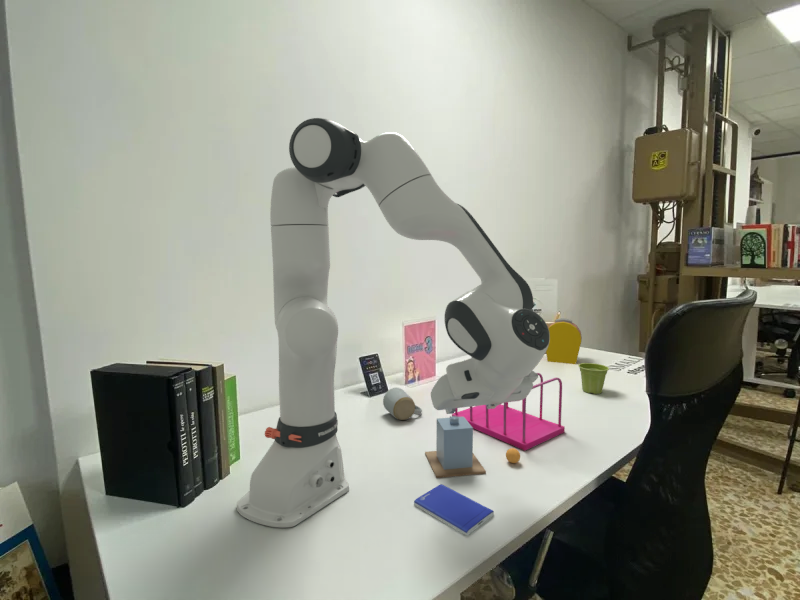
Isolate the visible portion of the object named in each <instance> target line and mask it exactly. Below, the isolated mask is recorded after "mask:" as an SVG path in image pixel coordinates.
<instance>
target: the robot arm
mask: <svg viewBox="0 0 800 600" xmlns="http://www.w3.org/2000/svg"><path fill="white" fill-rule="evenodd" d="M288 151H289V152H288V153H289V156H290V160H291V163H292V164H293V166H294V167H288V168H286V169H283V170H281V171H279V172H278V173H277V174H276V175H275V177H274V179H273V182H272V186H271V189H272V190H271V198H270V208H269V209H270V210H269V211H270V218H269V219H270V234H271V235H270V237H271V239H270V240H271V253H272V254H271V256H272V275H273V276H272V278H273V279H272V280H273V284H272V285H273V286H272V287H273V308H274V309H273V310H274V313H273V314H274V325H275V329H276V332H277V337H278V397H279V398H278V399H279V417H278V420H277V422H276V423H277V424H276V427H275V428H273V427H270V426H268V427H266V428H265V431H264V434H263V435H264V437H265V438H266V439H273V440H274V441H273V442H272V444H271V445H270V447H269V448H268V450H267V451H266V453H265V454H264V455H263V457H262V458H261V460H260V461H259V463H258V464H257V466H256V467H255V469H254V470H253V471H252V473H251V476H250V481H249V490H248V491H247V493H245V494H244V495H242V497H241V498H240V499H239V500H238V501H237V502H236V510H237V512H238V514H240V516H241V517H243V518H245V519H247V520H249V521H251V522H254V523H255V524H260V525H262V526H266V527H270V528H271V527H272V528H292V527H295V526H296V525H299V524H300V523H302V522H303V521H304V520H306V519H308V518H309V517H311V516H313V515H314V514H315V513H317V512H318V511H320V510H321V509H323V508H325V507H326V506H327V505H329V504H331V503H332V502H333V501H335V500H337V499H338V498H340V497H341V496H343V495H344V494H346V493H348V492H349V491H350V485H349V483H348V481H347V480H346V477H345V470H344V461H343V453H342V449H341V448H342V447H341V446H340V443H339V440H338V438H337V437H338V436H337V432H338V424H339V420H338V413H337V412H336V411H335V410H336V408H335V404H336V403H335V370H336V362H337V350H338V349H337V348H338V338H339V337H338V336H339V324H338V319H337V317H336V314H335V313H334V312H333V310H332V309H331V308H330V307H329V306H328V289H329V275H330V269H331V260H330V259H331V257H330V255H331V253H330V234H329V233H330V232H329V230H330V228H329V212H328V211H329V202H330V199H332V197H335V198H340V197H343V196H345V195H347V194H350V193H354V192H356V191H358V190H361V189H363V188H367V189H368V191H369V192H370V193H371V195H372V197H373V198H374V200H375V202H376V204H377V205H378V208H379V209H380V211H381V213H382V215H383V217H384V218H385V220H386V222H387V223H388V225H389V226H390V227H391V229H393V230H394V231H395V232H396V234H398V235H401V237H404V238H407V239H411V240H415V241H416V240H417V241H439V242H445V243H448V244H450V245H452V246H453V247H455V248H456V249H457V250H459V252H460V253H461V254H462V256H463V257H464V258H465V259H466V261H467V263H468V264H469V265H470V266H471V268H472V269H473V270H474V271H475V274H477V276H478V277H479V279H480V283H481V284H479V285H477V286H476V287H474V288H473V289H471V290H468V291H466V292H465V293H463V294H461V295H459V296H458V297H456V298H455V299H454V300H452V301H450V302H449V303H448V304H447V305H446V307H445V311H444V324H445V331H446V333H447V336H448V337H449V339H450V340H451V342H452V343H454V345H455V346H456V347H457V348H458V349H460V350H461V351H462V352H463V353H465V354H467V355H468V356H469V357H470V358H467V359H464V360H461V361H457V362H453V363H452V362H451V363H450V364H448V365H447V366H446V368H445V372H446V373H444V374H443V375H442V376H440V378H438V379H437V381H436V382H435V384H434V385H433V387H432V389H431V391H430V398H431V402H432V403H431V404H432V405H433V408H434V409H435V410H436V411H442V410H443V411H444V410H445V413H446V414H447V415H450V414H451V415H452V414H453V413H455V411H456V409H455V408H458V409H461V408H470V407H471V406H472V407H475V406H480V405H487V409H494V408H495V407H496V406H498V405H500V404H501V405H503V404H504V403H506V402H508V403H511V402H512V403H513V402H520V401H522V400H523V399H525V398H526V399H527V397H528V395H529V394H530V392H532V391H533V389H532V388H533V386H534V384H533V383H534V382H535V381H536V380H537V379H538V378H539V375H538V374H537V373H538V372H535V371H534V369H535V368H536V367H537V366H538V364H539V363H540V362H541V361H542V359H543V358H544V356H545V354H546V350H547V348H548V345H549V341H550V333H549V329H548V327H549V326H548V323H546V321H545V319H544V318H543V317H542V315H540V314H538V313H537V311H536V312H535V311H534V310H533V309H534V297H533V296H534V295H533V292H532V289H531V287H530V285H529V284H528V283H527V281H526V279H524V278H523V276H521V275H520V274H519V273H518V272H517V271H516V270H515V269H514V268H513V267H512V266H511V265H510V264H509V263H508V262H507V261H506V259H505V258H504V256H503V254H501V252H500V251H499V249H498V248H497V247H496V245H494V243H493V241H492V240H491V239H490V238H489V236H488V234H487V233H486V232H485V230H484V229H483V228H482V227H481V225H480V224H479V223H478V221H477V220H476V219H475V218H474V216H473V215H472V214H471V213H470V212H469V210H468V209H466V208H465V207H464V206H463V205H462V204H459V203H457V202H455V201H454V200H453V199H451V198H450V196H448V195H447V193H446V192H444V190H443V189H441V186H439V185H438V183H437V181H436V180H435V179H434V177H433V175H432V174H431V173H432V172H431V171H430V170H429V168H428V167H427V165H426V163H424V161H423V159H422V158H421V157H420V155H419V154H418V152H417V151H416V150H415V149H414V147H413V146H412V145H411V144H410V142H409V141H408V140H407V139H406V138H405V137H404V136H403V135H402V134H399V132H398V133H397V132H394V131H393V132H391V131H390V132H384V133H380V134H378V135H376V136H374V137H373V138H371V139H369V140H367V141H366V140H362V139H361V138H360V137H359V135H358V134H357V133H355V132H353V130H350V129H348V128H346V127H345V126H343V125H342V124H340V123H338V122H336V121H334V120H330V119H327V118H322V117H311V118H308V119H306V120H304V121H302V122H301V123H300V124H298V125H297V126H296V127H295V129H294V130H293V132H292V134H291V136H290V139H289V146H288Z"/></svg>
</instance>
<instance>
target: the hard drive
mask: <svg viewBox="0 0 800 600" xmlns="http://www.w3.org/2000/svg"><path fill="white" fill-rule="evenodd" d="M413 506H414V507H417V508H418V509H419V510H422V511H423V512H425V513H427V514H428V515H430V516H432V517H434V519H437V520H439V521H440V522H443V524H445V525H447V526H449V527H451V528H452V529H454V530H455V531H458V532H459V533H461V534H463V535H465V536H469V535H470V534H471V533H473V531H475V530H476V529H477V528H480V527H481V525H482V524H484V523H486V521H488V520H490V518H491V517H493V516H494V515H495V514H494V513H495V512H494V510H493V509H491V508H489V507H486V506H485V505H484V504H483V505H482V504H480V503H479V502H477V501H475V500H473V499H471V498H469V497H467V496H466V495H463V494H462V493H460V492H458V491H455V490H454V489H452V488H450V487H448V486H447V485H444V484H441V483H440V484H438V485H437V486H435V487H434V488H432V489H430V490H429V491H427V492H425V493H423V494H422V495H420V496H418V497H417V498H415V499H414V500H413Z"/></svg>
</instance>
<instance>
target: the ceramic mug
mask: <svg viewBox="0 0 800 600" xmlns="http://www.w3.org/2000/svg"><path fill="white" fill-rule="evenodd" d="M382 405H383V408H384V409H385V410H386V411H387V412H388V413H389V414H390V415H391V416H392V417H394V418H395V419H396V420H399V421H407V420H408V419H410V418H412V416H413V415H415V416H416V415H417V416H421V415H422V412H423V409H422V408H421V407H419V406H418V405H416V403H415V401H414V399H413V398H412V397H411V396H409V394H408V393H407V392H406V391H405V390H404V389H403V388H401V387H392V388H390V389H388V390H387V391H386V392H385V394H384V395H383V400H382Z"/></svg>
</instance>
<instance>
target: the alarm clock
mask: <svg viewBox="0 0 800 600" xmlns="http://www.w3.org/2000/svg"><path fill="white" fill-rule="evenodd" d="M548 329H549V333H550V341H549V345H548V348H547V350H546V352H545V354H546V360H547V361H546V362H549V363H557V364H558V363H560V364H569V365H577V361H578V357H579V354H580V353H579V352H580V348H581V345H582V332H581V330H580V328H579V327H578V325H577V324H575V323H574V322H573V320H571V319H569V318H557V319H555V321H554V322H552V323H550V325H549V326H548Z"/></svg>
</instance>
